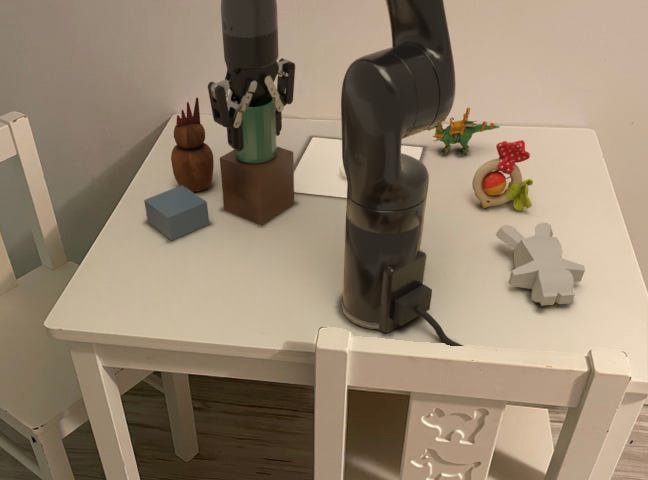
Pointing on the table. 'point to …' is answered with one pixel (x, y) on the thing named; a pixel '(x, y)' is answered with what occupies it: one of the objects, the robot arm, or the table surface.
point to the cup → (258, 132)
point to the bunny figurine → (541, 265)
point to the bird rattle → (503, 177)
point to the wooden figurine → (191, 152)
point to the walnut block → (258, 186)
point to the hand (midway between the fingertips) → (255, 141)
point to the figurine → (460, 132)
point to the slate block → (176, 212)
